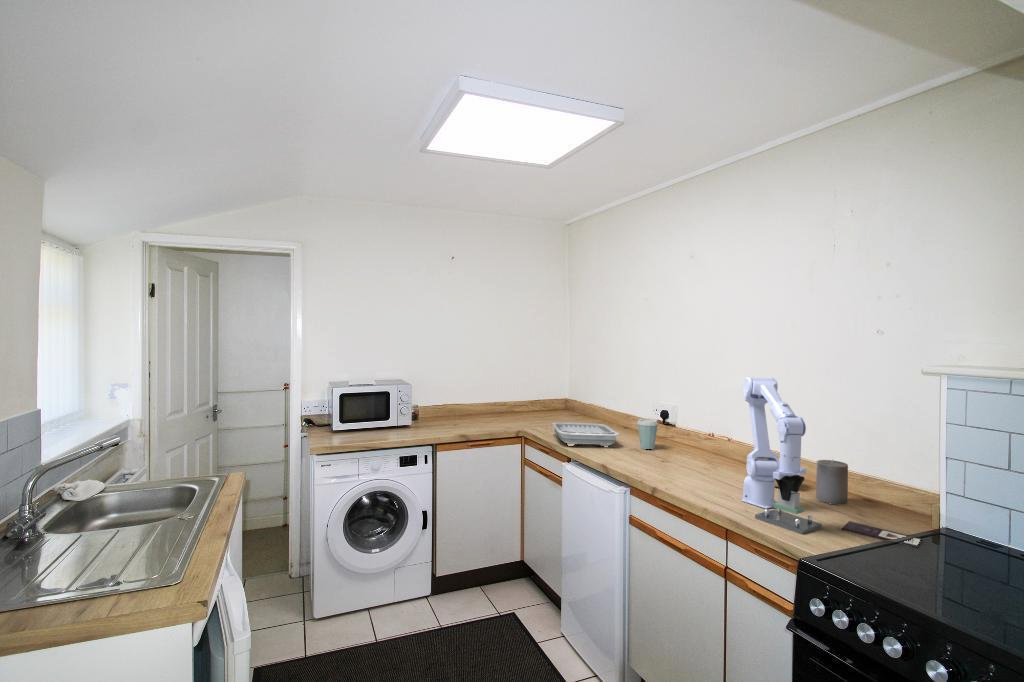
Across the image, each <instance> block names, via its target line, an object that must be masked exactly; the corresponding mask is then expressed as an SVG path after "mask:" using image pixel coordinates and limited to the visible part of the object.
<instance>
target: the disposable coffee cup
mask: <svg viewBox="0 0 1024 682" xmlns="http://www.w3.org/2000/svg"><path fill="white" fill-rule="evenodd" d="M636 424H637V430H638V437H639V438H638V439H639V445H640V449H641V448H643V449H653V450H654V449H655V444H656V437H657V432H658V425H659V423H658V421H657V419H655V418H640V419H638V421H637V423H636ZM643 449H642V450H643Z"/></svg>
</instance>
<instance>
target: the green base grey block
mask: <svg viewBox="0 0 1024 682" xmlns="http://www.w3.org/2000/svg"><path fill="white" fill-rule="evenodd" d="M800 495H801V494H800V493H799V492H798V493H797V492H793V491H791V497H790V500H789V501H786V500H782V497H781V493H780V489H779V490H778V502H774V507H773V508H775V509H777V508H778V509H781V511H783V512H787V513H790V514H793V515H798V514H802V513H805V508H804V507H801V506H800V504H801V503H800V502H801V501H800V499H801V496H800Z"/></svg>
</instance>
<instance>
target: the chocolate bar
mask: <svg viewBox="0 0 1024 682" xmlns="http://www.w3.org/2000/svg"><path fill="white" fill-rule="evenodd" d="M841 531H845V532H849V533H853V534H858V535H861V536H865V537H870V538H874V539H878V540H882V541H885V540H892V539H897V538H902V537H906V536H910V535H909V534H904V533H902V532H901V533H900V532H895V531H892V530H888V529H884V528H880V527H875V526H871V525H868V524H863V523H858V522H854V521H848V522H847V523H845V524H844V525H843V526H842V527H841ZM920 540H921V541H922V538H921V537H918V538H913V539H911V540H909V541H908V540H907V541H904V542H899V543H902V544H906V545H909V546H912V547H911V548H913V547H915V548H914V549H917V548H918V546H919V545H918V544H920V543H921V541H920ZM919 542H920V543H919ZM917 545H918V546H917ZM909 546H908V547H909ZM916 547H917V548H916Z"/></svg>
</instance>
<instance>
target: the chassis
mask: <svg viewBox="0 0 1024 682" xmlns="http://www.w3.org/2000/svg"><path fill="white" fill-rule="evenodd" d="M756 518H757V520H759V519H760V520H759V521H763V522H765V523H768V524H770V525H773V524H774V526H776V525H777V527H779V526H780V528H782V527H783V529H786V530H788V531H792V532H794V533H797V534H800V535H804V534H807V533H811V532H814V531H817V530H820V529H823V523H820V522H818V521H817V522H816V521H814V520H813V515H811V514H807V518H804V517H803V516H802V517H801V516H798V515H796V514H793V513H790V512H787V511H784V510H781V509H778V508H775V509H771V510H769V508H767V509H765V508H764V512H760V513H756V514H754V519H756Z"/></svg>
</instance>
